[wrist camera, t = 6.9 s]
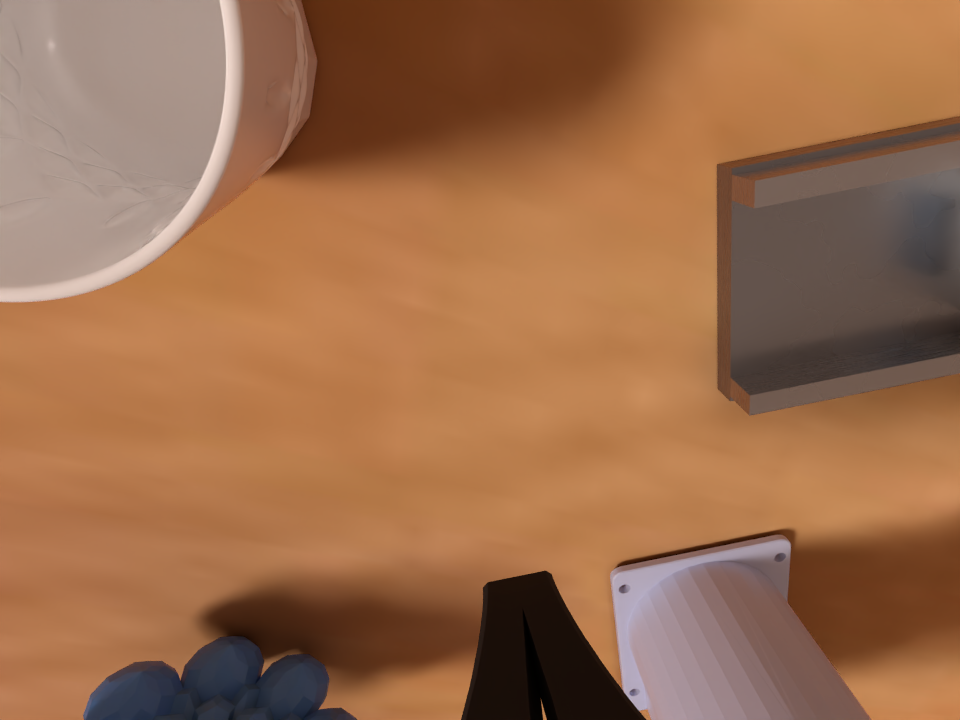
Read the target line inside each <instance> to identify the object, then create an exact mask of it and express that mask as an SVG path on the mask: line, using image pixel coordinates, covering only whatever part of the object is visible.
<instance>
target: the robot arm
mask: <svg viewBox="0 0 960 720" xmlns="http://www.w3.org/2000/svg"><path fill="white" fill-rule="evenodd" d="M777 554H778V555H777ZM790 555H791V543H790V541H789V540H788V539H787V538H786V537H785V536H784V535H773V536H768V537H763V538H758V539H753V540H748V541H743V542H738V543H733V544H728V545H723V546H718V547H713V548H708V549H704V550H699V551H694V552H689V553H684V554H679V555H674V556H669V557H664V558H659V559H654V560H649V561H644V562H639V563H634V564H630V565H625V566H620V567H617V568H615V569H614V570H613V571H612V572H611V575H610V580H611V589H612V598H613V607H614V616H615V625H616V634H617V643H618V652H619V661H620V671H621V680H622V689H623V690H622V689H621V687H620V686H619V685H618V684H617V682H616V681H615V680H614V678H613V677H612V676H611V674H610V673H609V671H608V670H607V669H606V667H605V666H604V665H603V663H602V662H601V660H600V659H599V657H598V656H597V654H596V653H595V651H594V650H593V648H592V647H591V645H590V644H589V642H588V641H587V640H586V638H585V637H584V635H583V633H582V632H581V630H580V629H579V627H578V625H577V624H576V622H575V620H574V619H573V617H572V615H571V614H570V612H569V610H568V608H567V607H566V605H565V603H564V601H563V599H562V597H561V595H560V593H559V591H558V589H557V587H556V584H555V582H554V580H553V577H552V574H550V573H549V572H547V571H542V572H537V573H532V574H527V575H522V576H517V577H512V578H507V579H502V580H497V581H492V582H488V583H487V584H486V585H485V586H484V587H483V611H482V621H481V629H480V635H479V642H478V648H477V653H476V658H475V663H474V668H473V674H472V679H471V683H470V687H469V692H468V695H467V699H466V703H465V707H464V711H463V715H462V719H461V720H543V715H542V706H541V700H542V704H543V707H544V711H545V715H546V718H547V720H646V719H645V718H644V716H643V715H642V714H641V713H640V712H639V711H640V710H645V709H648V712H649V714H650V717H651V720H871V718H870V717H869V715H868V714H867V713H866V711H865V710H864V709H863V707H862V706H861V704H860V703H859V702H858V700H857V699H856V697H855V696H854V695H853V693H852V692H851V690H850V689H849V688H848V686H847V685H846V683H845V682H844V681H843V679H842V678H841V676H840V675H839V674H838V672H837V671H836V669H835V668H834V667H833V665H832V664H831V662H830V661H829V660H828V658H827V657H826V656H825V654H824V653H823V651H822V650H821V649H820V647H819V646H818V644H817V643H816V642H815V640H814V639H813V637H812V636H811V635H810V633H809V632H808V630H807V629H806V628H805V626H804V625H803V623H802V622H801V621H800V619H799V618H798V616H797V615H796V614H795V612H794V611H793V609H792V608H791V607H790V605H789V604H788V603H787V600H788V585H789V570H790ZM622 585H625V586H622ZM621 586H622V587H621Z"/></svg>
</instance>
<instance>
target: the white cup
mask: <svg viewBox="0 0 960 720" xmlns="http://www.w3.org/2000/svg"><path fill="white" fill-rule="evenodd" d="M317 62H318V61H317V57H316V53H315V49H314V46H313V42H312V38H311V34H310V31H309V27H308V23H307V20H306V16H305V12H304V8H303V5H302V1H301V0H0V302H35V301H46V300H54V299H61V298H67V297H72V296H76V295H80V294H84V293H88V292H91V291H95V290H98V289H101V288H104V287H106V286H109V285H111V284H114V283H116V282H118V281H121V280H123V279H125V278H127V277H129V276H131V275H133V274H135V273H136V272H138V271H140V270H142V269H143V268H145V267H146V266H148V265H150V264H151V263H153V262H154V261H155V260H157V259H158V258H159V257H161V256H162V255H163V254H165V253H166V252H167V251H168V250H170V249H171V248H172V247H174V246H175V245H176V244H177V243H179V242H180V241H181V240H182V239H184V238H185V237H186V236H188V235H189V234H190V233H191V232H193V231H194V230H195V229H197V228H198V227H199V226H201V225H202V224H203V223H205V222H206V221H207V220H209V219H210V218H211V217H213V216H214V215H215V214H216V213H218V212H219V211H220V210H222V209H223V208H224V207H226V206H227V205H228V204H230V203H231V202H232V201H234V200H235V199H236V198H237V197H239V196H240V195H241V194H242V193H243V192H245V191H246V190H247V189H248V188H249V187H250V186H251V185H252V184H253V183H254V182H255V181H257V180H258V179H259V178H260V177H261V176H262V175H263V174H264V173H265V172H266V171H267V170H268V169H269V168H270V167H271V166H272V165H273V164H274V163H275V162H276V161H277V160H278V159H280V158H281V157H282V155H283V154H284V152H285V151H286V149H287V148H288V147H289V145H290V144H291V142H292V141H293V139H294V138H295V137H296V135H297V134H298V132H299V131H300V130H301V128H302V127H303V125H304V124H305V122H306V121H307V120H308V118H309V116H310V111H311V104H312V97H313V90H314V83H315V76H316V69H317Z"/></svg>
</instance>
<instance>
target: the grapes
mask: <svg viewBox="0 0 960 720" xmlns="http://www.w3.org/2000/svg"><path fill="white" fill-rule="evenodd" d="M263 664H264V660H263V657H262V654H261V651H260V649H259V647H258V646H257V645H255V644H254V643H253V642H251V641H250V640H248V639H247V638H245V637H243V636H229V637H220V638H218V639H216V640H215V641H213V642H211V643H209V644H207V645H205V646H204V647H202V648H201V649H199V650H198V651H197V653H196V654H195V655H194V656H193V657H192V658H191V659H190V660H189V662H188V663H187V664H186V665H185V667H184V671H183V674H182V677H181V681H180V678H179V676H178V673H177V672H176V670H175V669H174V668H172V667H171V666H169V665H168V664H166V663H164V662H163V661H145V662H134V663H133V664H131V665H129V666H127V667H125V668H123V669H121V670H119V671H117V672H115V673H114V674H112V675H110V676H109V677H107V678H106V679H105V680H104V681H103V682H102V683H101V684H100V686H99V687H98V688H97V689H96V690H95V691H94V692H93V693H92V694H91V695H90V698H89V701H88V703H87V706H86V709H85V712H84V715H83V717H84V720H357V719H356V718H355V717H354V716H352V715H351V714H350V713H348V712H347V711H345V710H344V709H342V708H327V709H320V710H318V709H319V708H320V706H321V705H322V703H323V702H324V700H325V698H326V696H327V690H328V685H329V676H328V673H327V671H326V668H325V665H323V664H322V663H321V662H319V661H318V660H316V659H315V658H314V657H312V656H311V655H310V654H296V655H287V656H285V657H283V658H281V659H280V660H278V661H276V662H274V663H272V664H271V665H270V667H269V668H268V669H267V670H266V671H265V673H264V674H263V675H262V676H261V673H262V668H263ZM260 677H261V678H260Z"/></svg>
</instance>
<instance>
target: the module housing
mask: <svg viewBox="0 0 960 720" xmlns="http://www.w3.org/2000/svg"><path fill="white" fill-rule="evenodd" d="M717 276H718V390H719V391H720V392H721V393H722V394H723V395H724V396H725V397H726V398H727V399H728V400H729V401H735V402H736V403H737V404H738V405H739V406H740V407H741V408H742V409H743V410H744V411H745V412H746V413H747V414H748V415H749V416H750V415H755V414H760V413H765V412H770V411H775V410H779V409H784V408H789V407H794V406H799V405H804V404H809V403H814V402H819V401H824V400H829V399H834V398H839V397H844V396H849V395H854V394H859V393H864V392H869V391H874V390H879V389H884V388H889V387H894V386H899V385H904V384H909V383H914V382H919V381H924V380H929V379H934V378H938V377H943V376H948V375H953V374H958V373H960V117H955V118H950V119H945V120H940V121H935V122H929V123H924V124H919V125H914V126H909V127H904V128H899V129H894V130H889V131H884V132H879V133H874V134H869V135H864V136H859V137H854V138H849V139H844V140H839V141H834V142H828V143H823V144H818V145H813V146H808V147H803V148H798V149H793V150H788V151H783V152H778V153H773V154H768V155H763V156H758V157H753V158H748V159H743V160H738V161H733V162H727V163H722V164H717Z"/></svg>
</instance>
